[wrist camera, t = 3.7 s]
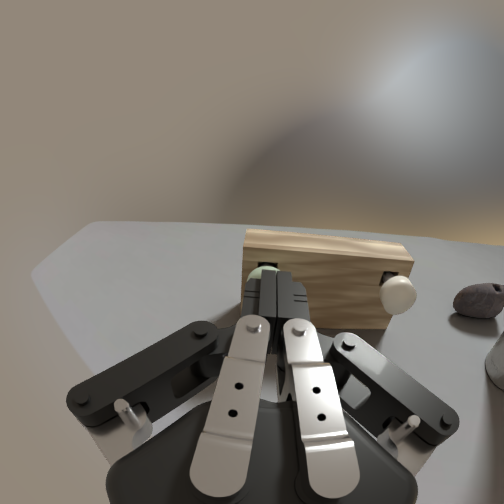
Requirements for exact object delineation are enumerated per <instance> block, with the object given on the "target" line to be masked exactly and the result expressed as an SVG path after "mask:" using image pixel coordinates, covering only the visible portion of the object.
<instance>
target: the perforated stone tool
mask: <svg viewBox="0 0 504 504" xmlns="http://www.w3.org/2000/svg"><path fill="white" fill-rule="evenodd" d="M453 307H454V309H455V311H457V312H458V313H460V314H462V315H465V316H472V317H476V318H490V317H496V315H498V314H499V313H500V312H501V311H502V309H503V307H504V285H499V284H494V283H483V284H476V285H471V286H468V287H466V288H464V289H462V290H461V291H460V292H459V293H458V294H457V295H456V297H455V298H454V301H453Z"/></svg>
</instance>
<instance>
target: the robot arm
mask: <svg viewBox="0 0 504 504" xmlns="http://www.w3.org/2000/svg"><path fill="white" fill-rule="evenodd" d="M306 296H307V295H306V289H305V287H304V286H303V285H302V283H301V282H292V274H291V272H289V271H277V272H276V270H266V269H262V272H261V279H257V278H250V279H249V280H248V281H247V282H246V284H245V290H244V297H243V303H242V310H241V316H240V319H239V320H238V322H237V323H236V324H235V325H233V326H231V327H228V328H223V329H217V327H216V326H215V325H214V324H212V323H210V322H207V321H195V322H192V323H190V324H189V325H187V326H185V327H183V328H182V329H180V330H178V331H176V332H175V333H173V334H171V335H169V336H167V337H166V338H164V339H162V340H160V341H158V342H157V343H155V344H153V345H151V346H149V347H148V348H146V349H144V350H142V351H140V352H138V353H137V354H135V355H133V356H131V357H129V358H127V359H126V360H124V361H122V362H120V363H118V364H116V365H114V366H112V367H111V368H109V369H107V370H105V371H103V372H101V373H99V374H97V375H95V376H93V377H91V378H90V379H88V380H86V381H84V382H82V383H80V384H78V385H76V386H75V387H73V388H72V389H71V390H70V391H69V392H68V395H67V398H66V403H67V406H68V408H69V410H70V411H71V412H72V413H73V414H74V416H75V417H76V418H77V420H78V421H79V422H80V424H81V425H82V426H83V427H85V429H86V430H87V431H88V432H89V433H90V434H91V436H92V438H93V440H94V441H95V443H96V444H97V446H98V448H99V449H100V451H101V452H102V453H103V455H104V457H105V458H106V460H107V461H108V462H109V464H110V465H111V468H110V470H109V471H108V474H107V477H106V490H107V494H108V498H109V501H110V504H415V503H416V500H417V495H418V486H417V482H416V480H415V476H416V474H417V473H418V472H419V470H420V469H421V468H422V467H423V465H424V464H425V462H426V461H427V460H428V458H429V457H430V455H431V454H432V453H433V451H434V450H435V448H436V447H437V446H439V445H440V444H441V443H443V442H444V441H445V440H446V439H448V438H449V437H450V436H451V435H453V434H454V433H455V432H456V431H457V429H458V427H459V417H458V415H457V413H456V412H455V410H453V409H452V408H451V407H450V406H448V405H447V404H446V403H444V402H443V401H442V400H441V399H439V398H438V397H437V396H435V395H434V394H433V393H431V392H430V391H429V390H428V389H426V388H425V387H424V386H422V385H421V384H420V383H418V382H417V381H416V380H415V379H413V378H412V377H411V376H409V375H408V374H407V373H405V372H404V371H403V370H402V369H400V368H399V367H398V366H396V365H395V364H394V363H392V362H391V361H390V360H389V359H387V358H386V357H385V356H383V355H382V354H381V353H380V352H378V351H377V350H376V349H374V348H373V347H372V346H370V345H369V344H368V343H367V342H365V341H364V340H363V339H361V338H360V337H359V336H357V335H355V334H353V333H349V332H343V333H339V334H337V335H336V336H335V338H332V337H328V336H325V335H322V334H320V333H318V332H317V331H316V329H315V327H314V325H313V324H312V323H311V322H310V315H309V308H308V302H307V297H306ZM271 345H272V352H271V354H277V361H276V365H275V373H276V385H277V398H278V403H274V402H270V401H266V400H263V399H260V394H261V387H262V381H263V374H264V368H265V363H266V359H267V354H270V351H271ZM485 364H486V370H487V372H488V375H489V377H490V378H491V380H492V381H493V382H494V383H495V384H496V385H497V386H498V387H499V388H501V389H502V390H504V331H503V333H502V335H501V336H500V338H499V339H498V341H497V342H496V343H495V345H494V346H493V348H492V349H491V351H490V352H489V353H488V355H487V357H486V361H485ZM351 374H353V375H354V376H355V377H356V378H358V379H359V380H360V381H361V382H362V383H364V384H365V385H366V386H367V387H368V388H369V389H368V388H367V387H365V386H364V385H363V384H362V383H361V382H359V381H358V380H357V379H356V378H355V377H354V376H352V375H351ZM218 377H219V378H218ZM217 378H218V382H217V385H216V388H215V392H214V395H213V399H212V401H209V402H205V403H203V404H200V405H198V406H196V407H195V408H193V409H192V410H190V411H189V412H187V413H186V414H185V415H183V416H182V417H181V418H179V419H178V420H177V421H175V422H174V423H172V424H171V425H170V426H168V427H167V428H165V429H164V430H163V431H161V432H160V433H158V434H157V435H155V436H154V437H152V438H151V439H150V440H148V441H147V442H145V443H144V441H146V440H147V439H148V438H149V437H150V436H151V434H152V430H153V427H152V423H153V422H155V421H156V420H158V419H160V418H161V417H163V416H164V415H166V414H167V413H169V412H170V411H172V410H173V409H175V408H176V407H178V406H180V405H181V404H182V403H184V402H185V401H187V400H188V399H190V398H191V397H193V396H194V395H196V394H197V393H199V392H200V391H201V390H203V389H204V388H206V387H207V386H208V385H210V384H211V383H213V382H214V381H215V380H216V379H217ZM341 407H342V408H343V409H344V410H345V411H347V412H348V413H349V414H350V415H351V416H352V417H353V418H354V419H355V420H357V421H358V422H359V423H360V424H361V425H362V426H363V427H365V428H366V429H367V430H368V431H369V432H370V433H371V434H373V435H374V436H375V437H376V438H377V441H376V440H375V439H373V438H372V437H371V436H370V435H369V434H368V433H367V432H366V431H365V430H364V429H363V428H362V427H361V426H360V425H359V424H358V423H357V422H356V421H354V420H353V419H352V418H351V417H350V416H349V415H348V414H346V413H345V412H343V411H342V408H341ZM143 443H144V444H143Z"/></svg>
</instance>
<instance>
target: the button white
mask: <svg viewBox="0 0 504 504" xmlns="http://www.w3.org/2000/svg"><path fill="white" fill-rule="evenodd" d="M382 280H383V282H384V284H383V286H382V287H381V289H380V293H379V297H380V300H381V302H382V304H383V306H384V309H385V311H386V312H387V313H389V314H392V315H397V314H401V313H404V312H405V311H407V310H408V309H409V308H411V307H412V305H413V304H414V302H415V300H416V296H417V293H416V290H415V289H414V287H413V285H412V284H411V282H410V281H409V279H408V278H406V277H404V276H395V277H394V275H393V274H392V272H391V271H384V272H383V275H382Z"/></svg>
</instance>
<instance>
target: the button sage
mask: <svg viewBox="0 0 504 504" xmlns="http://www.w3.org/2000/svg"><path fill="white" fill-rule="evenodd" d="M262 269H266V270H276V272H277V271H280V270H279V269H277V268H274V263H272V262H262V263H261V267H259V268H256V269H255V270H253V271H252V272H251V273H250V274H249V276H248V279H247V281H248V280H249V279H250V278H257V279H261V272H262Z"/></svg>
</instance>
